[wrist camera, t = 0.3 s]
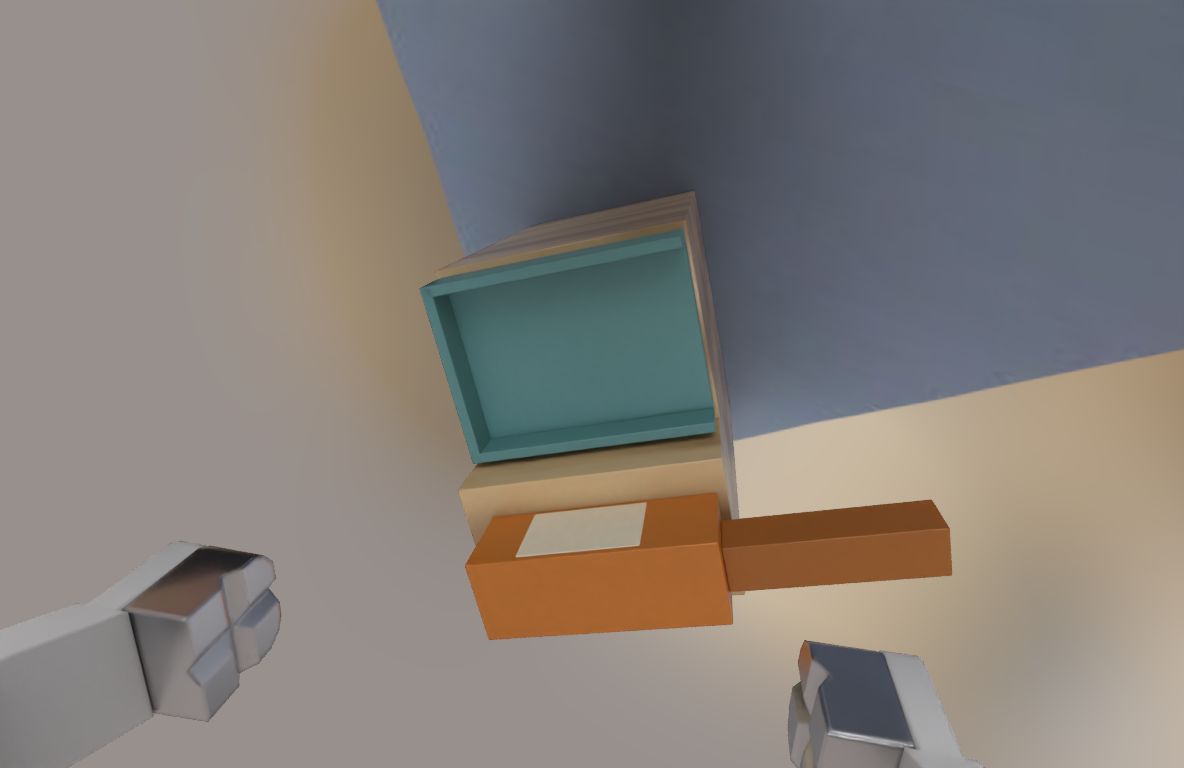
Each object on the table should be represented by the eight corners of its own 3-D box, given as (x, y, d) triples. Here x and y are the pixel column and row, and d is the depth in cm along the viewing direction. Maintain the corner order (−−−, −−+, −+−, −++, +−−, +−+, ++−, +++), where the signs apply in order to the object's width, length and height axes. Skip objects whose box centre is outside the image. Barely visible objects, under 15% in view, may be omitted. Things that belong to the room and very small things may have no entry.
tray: (439, 277, 36) (419, 288, 34) (683, 228, 33) (681, 235, 30) (488, 443, 39) (472, 464, 37) (715, 411, 36) (715, 432, 34)
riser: (530, 226, 55) (394, 290, 31) (694, 190, 52) (682, 231, 28) (580, 428, 61) (496, 613, 37) (730, 407, 58) (745, 594, 34)
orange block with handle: (513, 585, 36) (488, 641, 32) (492, 515, 35) (463, 565, 31) (929, 550, 31) (962, 611, 27) (923, 468, 30) (957, 519, 26)
